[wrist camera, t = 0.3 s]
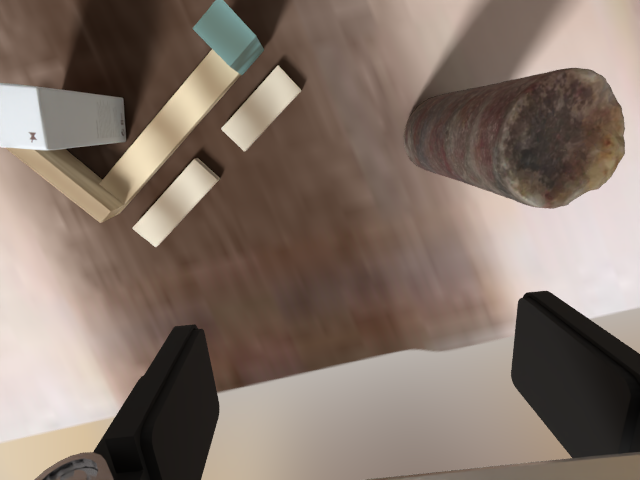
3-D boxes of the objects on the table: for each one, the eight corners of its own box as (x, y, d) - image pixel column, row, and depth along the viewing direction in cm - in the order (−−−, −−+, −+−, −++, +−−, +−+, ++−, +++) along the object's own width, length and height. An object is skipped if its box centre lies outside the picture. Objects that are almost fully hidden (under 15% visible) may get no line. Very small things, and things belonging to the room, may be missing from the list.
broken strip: (278, 67, 35) (277, 65, 34) (301, 91, 36) (301, 90, 35) (137, 225, 39) (132, 228, 38) (160, 243, 40) (155, 247, 39)
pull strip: (167, -53, 31) (130, -100, 25) (265, 52, 34) (256, 36, 27) (25, 135, 36) (-41, 139, 29) (122, 214, 38) (84, 235, 32)
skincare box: (124, 96, 35) (39, 86, 24) (128, 142, 36) (49, 153, 25) (58, 90, 35) (-60, 76, 23) (64, 136, 36) (-46, 145, 25)
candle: (396, 100, 36) (499, 81, 17) (469, 86, 36) (652, 51, 17) (405, 176, 39) (503, 232, 20) (473, 163, 39) (638, 206, 20)
